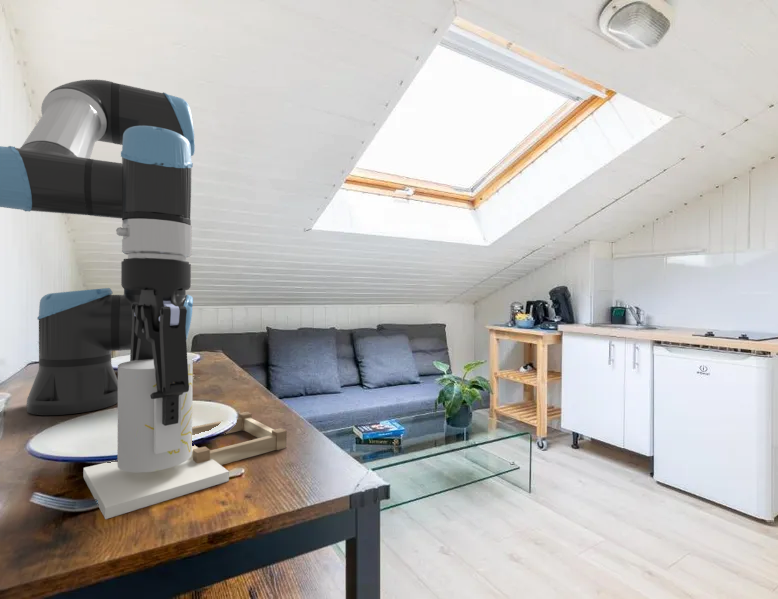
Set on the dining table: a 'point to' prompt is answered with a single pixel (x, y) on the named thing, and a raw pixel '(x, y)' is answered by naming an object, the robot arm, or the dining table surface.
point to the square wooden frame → (263, 444)
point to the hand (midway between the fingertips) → (156, 440)
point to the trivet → (148, 484)
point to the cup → (147, 419)
